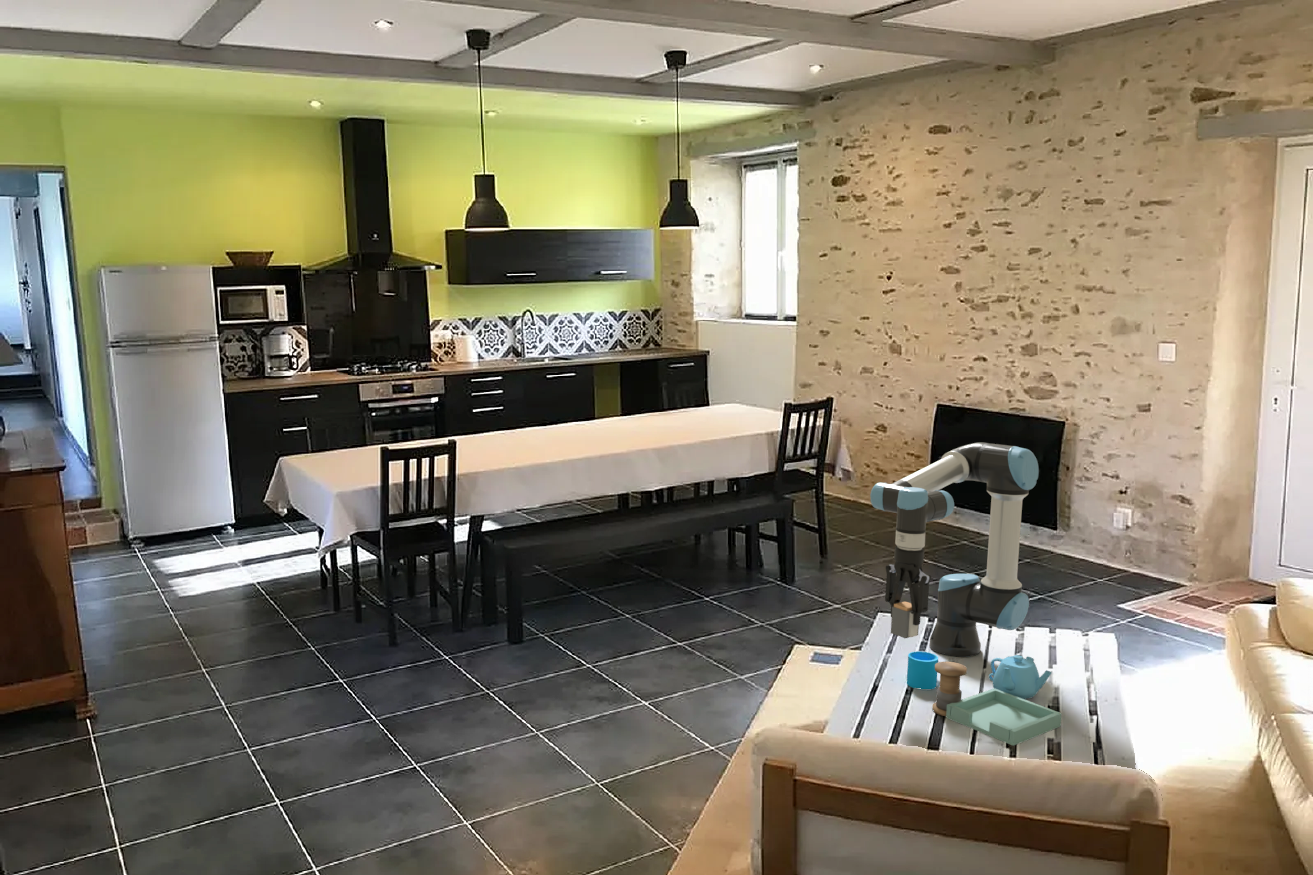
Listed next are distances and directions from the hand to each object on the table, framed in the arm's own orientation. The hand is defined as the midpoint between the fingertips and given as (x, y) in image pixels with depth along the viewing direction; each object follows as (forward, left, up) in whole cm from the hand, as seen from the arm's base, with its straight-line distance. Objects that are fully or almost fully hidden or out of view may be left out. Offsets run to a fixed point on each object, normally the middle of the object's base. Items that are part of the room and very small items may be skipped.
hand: (904, 632), depth 276 cm
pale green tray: (-12, +23, -19) cm, 33 cm away
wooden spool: (-6, +11, -19) cm, 23 cm away
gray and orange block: (0, 0, 0) cm, 0 cm away
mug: (-17, -6, -20) cm, 27 cm away
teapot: (-30, +15, -20) cm, 39 cm away
